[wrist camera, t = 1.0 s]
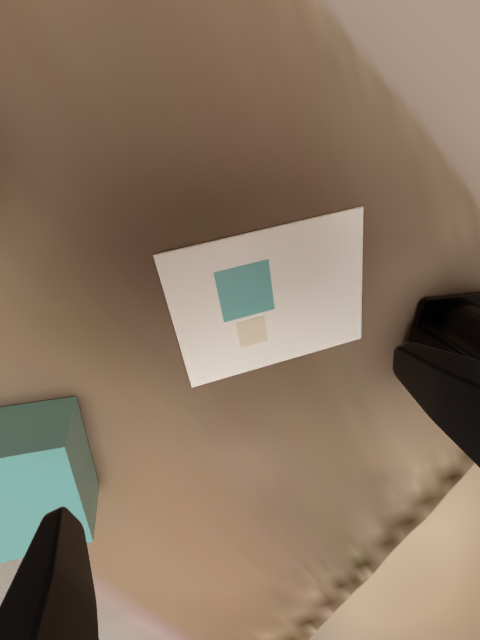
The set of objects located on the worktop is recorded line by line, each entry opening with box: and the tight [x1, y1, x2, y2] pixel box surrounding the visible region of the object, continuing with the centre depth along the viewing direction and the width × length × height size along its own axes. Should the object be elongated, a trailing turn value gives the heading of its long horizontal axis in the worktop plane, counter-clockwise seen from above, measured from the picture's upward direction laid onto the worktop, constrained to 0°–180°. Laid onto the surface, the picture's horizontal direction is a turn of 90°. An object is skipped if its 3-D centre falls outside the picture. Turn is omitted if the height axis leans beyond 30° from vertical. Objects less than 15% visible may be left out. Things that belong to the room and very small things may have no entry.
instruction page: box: [153, 206, 363, 388], centre depth 22 cm, size 12×9×1 cm
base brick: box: [0, 396, 99, 563], centre depth 20 cm, size 8×8×4 cm
